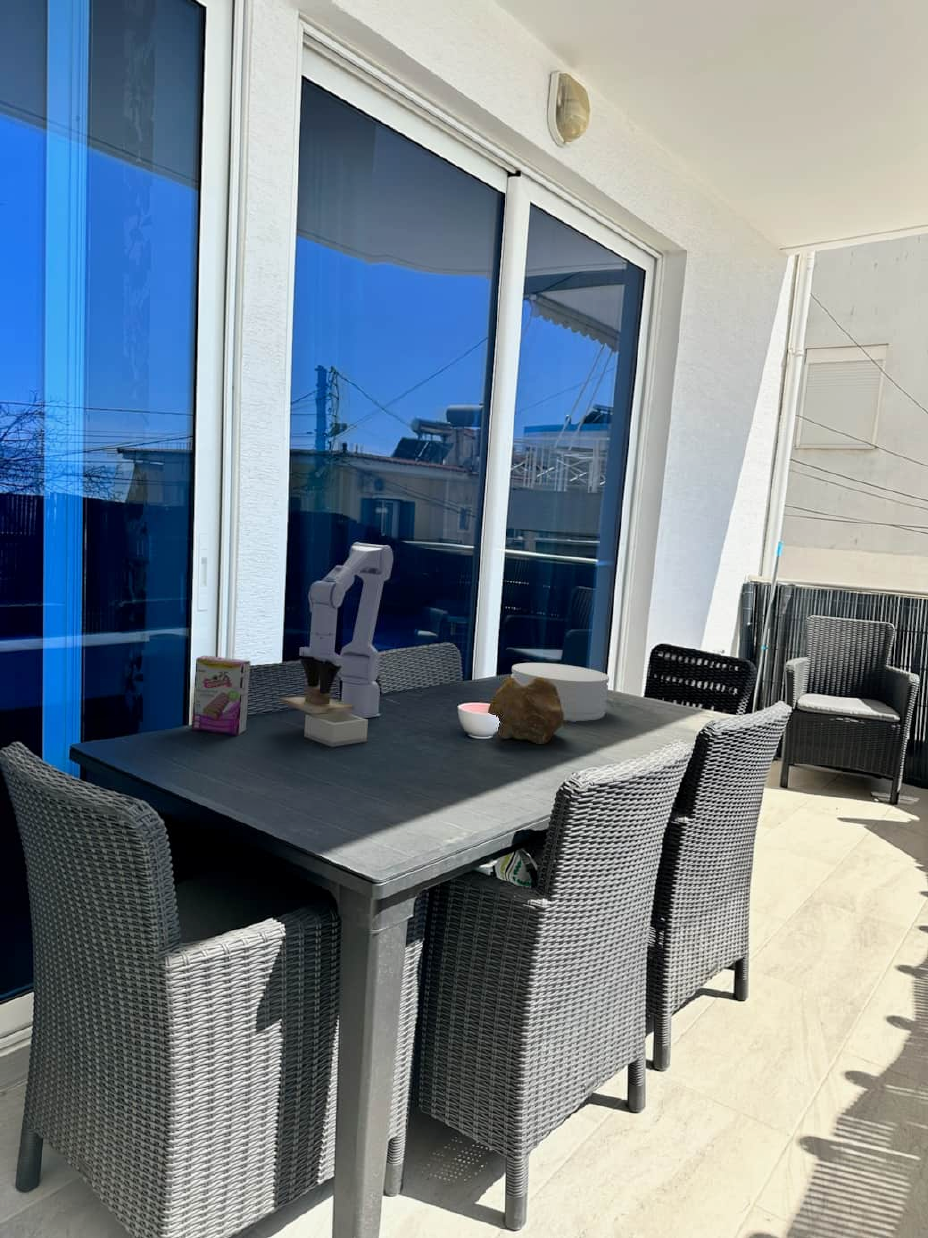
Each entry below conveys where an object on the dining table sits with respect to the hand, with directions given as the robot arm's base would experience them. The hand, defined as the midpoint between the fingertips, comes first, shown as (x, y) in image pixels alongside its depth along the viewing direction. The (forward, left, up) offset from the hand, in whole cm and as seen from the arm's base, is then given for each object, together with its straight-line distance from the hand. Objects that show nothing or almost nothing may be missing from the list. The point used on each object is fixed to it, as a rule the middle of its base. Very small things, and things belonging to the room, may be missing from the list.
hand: (318, 691), depth 204 cm
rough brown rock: (-44, +29, -10) cm, 54 cm away
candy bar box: (+19, -11, -10) cm, 24 cm away
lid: (0, 0, -4) cm, 4 cm away
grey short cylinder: (-79, +11, -10) cm, 80 cm away
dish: (0, +7, -10) cm, 12 cm away
